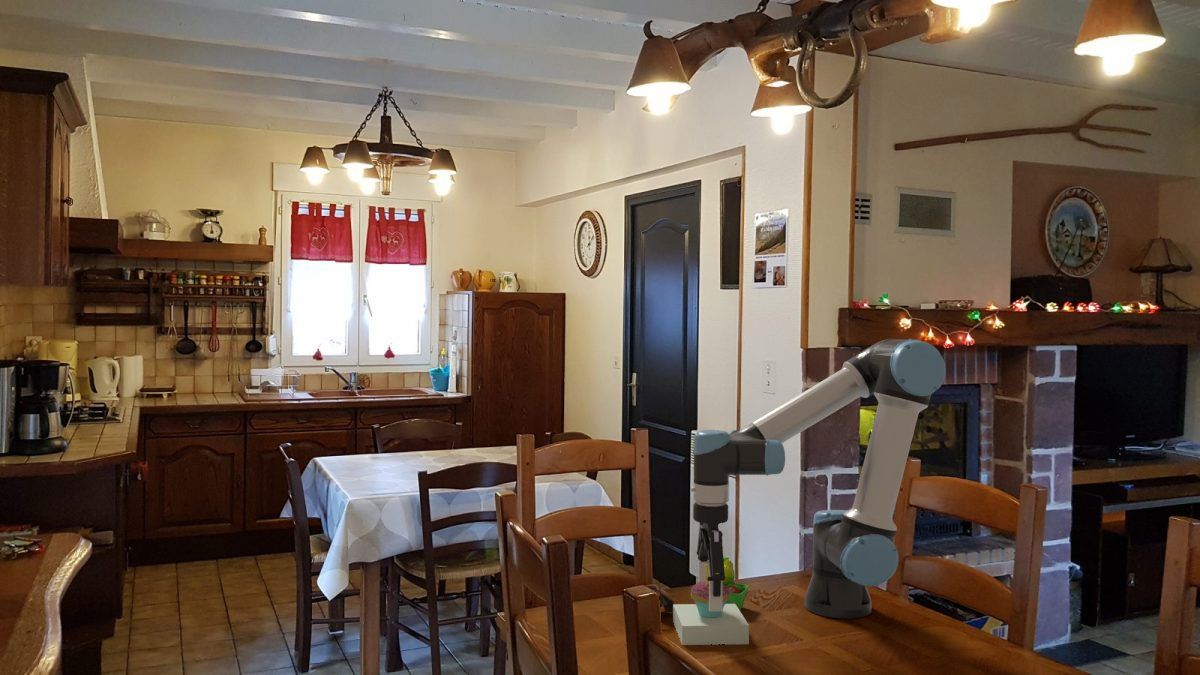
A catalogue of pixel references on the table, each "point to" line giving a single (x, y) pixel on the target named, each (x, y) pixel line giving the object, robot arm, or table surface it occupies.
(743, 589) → the fruit basket
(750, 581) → the table surface
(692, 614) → the sage stand
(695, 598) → the cupcake
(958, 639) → the table surface
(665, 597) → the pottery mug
